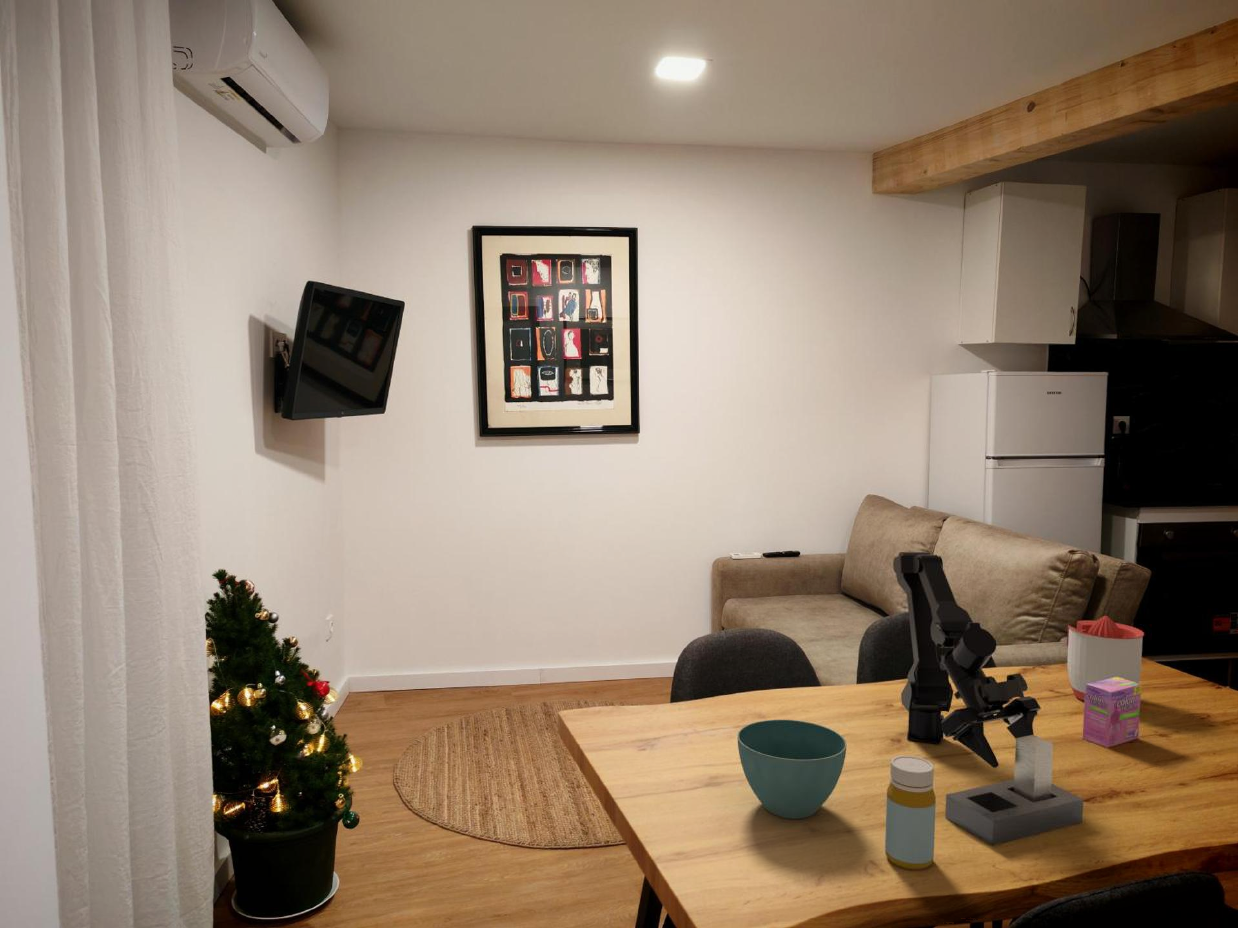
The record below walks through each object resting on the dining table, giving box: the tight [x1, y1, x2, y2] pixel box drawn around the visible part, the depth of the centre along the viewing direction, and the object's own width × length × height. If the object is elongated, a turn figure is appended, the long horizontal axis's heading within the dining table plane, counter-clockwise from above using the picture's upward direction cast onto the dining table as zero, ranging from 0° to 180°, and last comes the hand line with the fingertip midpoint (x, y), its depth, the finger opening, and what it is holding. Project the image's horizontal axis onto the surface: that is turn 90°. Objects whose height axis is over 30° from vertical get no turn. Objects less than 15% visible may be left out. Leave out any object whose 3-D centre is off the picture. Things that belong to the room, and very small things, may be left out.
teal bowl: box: [737, 719, 847, 820], centre depth 149 cm, size 18×18×12 cm
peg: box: [1013, 734, 1054, 803], centre depth 147 cm, size 4×4×13 cm
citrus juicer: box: [1059, 615, 1145, 702], centre depth 205 cm, size 16×17×20 cm
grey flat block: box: [944, 778, 1084, 847], centre depth 145 cm, size 20×10×4 cm, turn 113°
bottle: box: [884, 755, 937, 871], centre depth 132 cm, size 7×7×15 cm
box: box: [1082, 677, 1143, 749], centre depth 180 cm, size 10×6×12 cm, turn 117°
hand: (1016, 762), depth 150 cm, fingers open, 9 cm apart
